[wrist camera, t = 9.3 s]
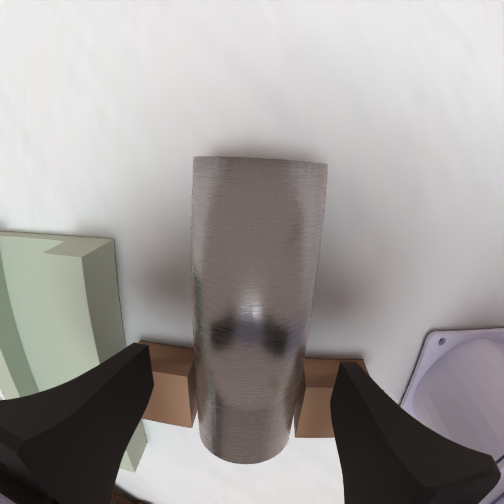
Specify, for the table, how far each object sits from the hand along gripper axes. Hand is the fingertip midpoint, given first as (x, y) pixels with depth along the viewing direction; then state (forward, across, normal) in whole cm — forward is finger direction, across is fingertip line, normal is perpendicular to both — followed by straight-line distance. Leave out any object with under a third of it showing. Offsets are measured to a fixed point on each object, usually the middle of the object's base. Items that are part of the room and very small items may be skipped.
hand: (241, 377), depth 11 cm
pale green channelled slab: (+5, +13, +4) cm, 15 cm away
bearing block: (+5, 0, +4) cm, 7 cm away
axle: (+3, 0, -1) cm, 3 cm away
